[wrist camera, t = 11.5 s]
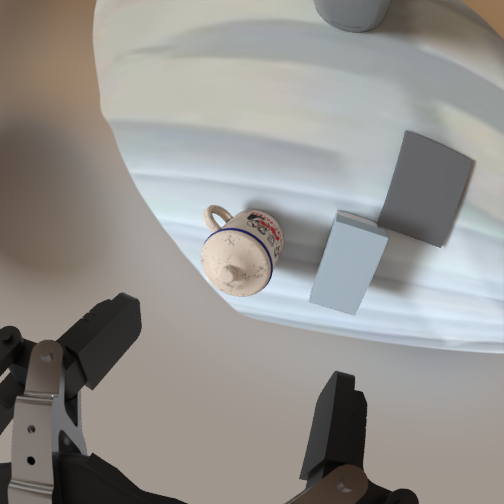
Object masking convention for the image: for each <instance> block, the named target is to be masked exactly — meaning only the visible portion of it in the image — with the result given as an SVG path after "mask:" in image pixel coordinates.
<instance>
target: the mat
mask: <svg viewBox="0 0 504 504" xmlns="http://www.w3.org/2000/svg"><path fill="white" fill-rule="evenodd" d="M471 163H472V160H471V159H469V158H467V157H465V156H463V155H461V154H459V153H457V152H455V151H453V150H451V149H449V148H447V147H444V146H442V145H440V144H438V143H436V142H433V141H431V140H429V139H426V138H424V137H422V136H419V135H417V134H414V133H412V132H409V131H405V135H404V139H403V143H402V146H401V150H400V154H399V157H398V161H397V164H396V168H395V171H394V174H393V178H392V181H391V184H390V187H389V190H388V194H387V197H386V200H385V203H384V206H383V209H382V212H381V214H380V217H379V220H378V225H379V226H382V227H385V228H387V229H390V230H393V231H396V232H399V233H402V234H404V235H407V236H410V237H413V238H415V239H418V240H421V241H424V242H426V243H429V244H432V245H434V246H437V247H439V248H441V246H442V244H443V241H444V239H445V237H446V234H447V232H448V230H449V227H450V225H451V222H452V220H453V217H454V214H455V212H456V209H457V206H458V204H459V201H460V198H461V195H462V192H463V189H464V186H465V183H466V180H467V177H468V174H469V170H470V167H471Z"/></svg>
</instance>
